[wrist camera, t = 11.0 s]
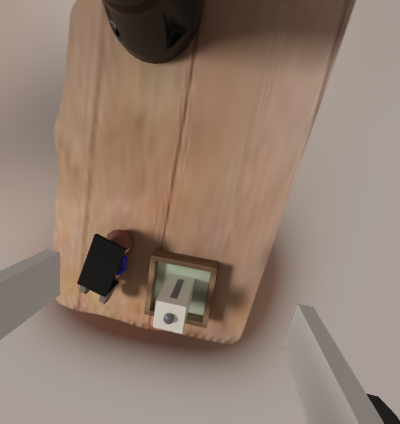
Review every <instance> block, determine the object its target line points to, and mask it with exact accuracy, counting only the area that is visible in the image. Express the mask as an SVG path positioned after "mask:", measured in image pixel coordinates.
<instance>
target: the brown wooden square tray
mask: <svg viewBox="0 0 400 424" xmlns="http://www.w3.org/2000/svg"><path fill="white" fill-rule="evenodd" d="M217 269H218V262H217V261H212V260H207V259H202V258H197V257H192V256H187V255H182V254H176V253H171V252H166V251H161V250H155V251H154V252H153V253H152V254H151V256H150V265H149V275H148V284H147V293H146V302H145V312H144V314H147V315H152V316H154V313H155V305H156V299H157V298H158V296H159V294H160V292H161V290H162V289H163V287H164V285H165V283H166V281H167V280H168V278H169V276H170V274H176V275H181V276H185V277H190V278H195V281H194V288H193V294H192V300H191V304H190V308H189V311H188V315H187V318H186V322H185V323H187V324H191V325H195V326H200V327H204V328H207V324H208V318H209V313H210V307H211V302H212V296H213V291H214V285H215V280H216V275H217Z"/></svg>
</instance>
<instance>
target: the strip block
mask: <svg viewBox="0 0 400 424" xmlns="http://www.w3.org/2000/svg"><path fill="white" fill-rule="evenodd" d="M194 281H195V278H190V277H185V276H181V275H176V274H170V276H169V278H168V280H167V281H166V283H165V285H164V287H163V289H162V290H161V292H160V294H159V296H158V298H157V299H156V305H155V313H154V321H153V327H155V328H159V329H164V330H168V331H172V332H176V333H181V334H182V333H183V329H184V326H185V322H186V318H187V315H188V311H189V308H190V304H191V300H192V294H193V288H194Z"/></svg>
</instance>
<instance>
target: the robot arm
mask: <svg viewBox="0 0 400 424" xmlns="http://www.w3.org/2000/svg"><path fill="white" fill-rule="evenodd" d="M102 2H103V5H104V8H105V11H106V14H107V17H108V20H109V23H110V26H111V28H112V30H113V32H114V34H115V36H116V37H117V39H118V40H119V41H120V43H121V44H122V45H123V46H124V47H125V49H126V50H127V51H128V52H129V53H130V54H131V55H133V56H134V57H136V58H138V59H139V60H142V61H145V62H149V63H161V62H165V61H168V60H171V59H173V58H175V57H176V56H178V55H179V54H180V53H182V52H183V51H184V50H185V49H186V48H187V46H188V45H189V44H190V42H191V41H192V39H193V37H194V35H195V33H196V31H197V28H198V25H199V21H200V15H201V0H102ZM59 295H60V252H57V251H52V250H46V251H43V252H41V253H39V254H36V255H34V256H32V257H30V258H28V259H26V260H23V261H21V262H19V263H17V264H15V265H12V266H10V267H8V268H6V269H4V270H2V271H0V340H1V339H2V338H3V337H5V336H6V335H7V334H9V333H10V332H11V331H13V330H14V329H15V328H17V327H18V326H19V325H21V324H22V323H23V322H24V321H26V320H27V319H28V318H30V317H31V316H32V315H34V314H35V313H36V312H38V311H39V310H40V309H42V308H43V307H44V306H45V305H47V304H48V303H49V302H51V301H52V300H53V299H55V298H56V297H57V296H59ZM284 349H285V352H286V355H287V359H288V362H289V365H290V368H291V372H292V375H293V378H294V381H295V385H296V388H297V391H298V394H299V397H300V401H301V404H302V407H303V410H304V413H305V417H306V420H307V423H308V424H400V420H399V419H398V418H397V416H396V415H395V414H394V413H393V412H392V411H391V409H390V408H389V407H388V406H387V405H386V404H385V403H384V402H383V401H382V400H381V399H380V398H379V397H378V396H374V395H370V394H366V393H365V391H364V389H363V388H362V386H361V385H360V383H359V381H358V380H357V378H356V376H355V375H354V373H353V371H352V370H351V368H350V367H349V365H348V363H347V362H346V360H345V358H344V357H343V355H342V353H341V352H340V350H339V348H338V347H337V345H336V344H335V342H334V341H333V339H332V337H331V335H330V334H329V332H328V330H327V329H326V327H325V325H324V324H323V322H322V321H321V319H320V318H319V316H318V314H317V312H316V311H315V309H314V308H313V307H310V306H305V305H300V304H298V305H297V308H296V311H295V314H294V318H293V321H292V324H291V327H290V331H289V334H288V337H287V340H286V343H285V347H284Z"/></svg>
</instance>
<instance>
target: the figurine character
mask: <svg viewBox="0 0 400 424" xmlns="http://www.w3.org/2000/svg"><path fill="white" fill-rule="evenodd" d="M131 246H132V238H131V236H130V235H129V233H127V232H126V231H124V230H114V231H112V232H110V233H109V234H108V235H107V237H106V238H104V237H102V236H100V235H99V234H95V235H94V238H93V241H92V244H91V246H90V249H89V252H88V255H87V258H86V260H85V263H84V266H83V269H82V272H81V274H80V277H79V280H78V283H77V284H79V285H81V286H80V289H79V291H80V292H82V293H84V294H86V293H88V292H89V290H91V291H93V292H95V293H97V294H99V295H101V296H100V299H99V301H100V302H102V303H104V304H105V303H106V302H107V301H108V300H109V298H110V297H111V295H112V293H113V291H114V289H115V286H116V285H117V284H118V282H119V281H117V280H116V278H119V277H120V274H122V273H123V272H124V271H125V270H126V260H127V256H125V255H124V254H125V253H126V252H127V251H129V249H130V248H131ZM121 261H122V265H123V269H122V270H120V271H119V272H118V273H117V271H118V268H119V266H120V263H121Z"/></svg>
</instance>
